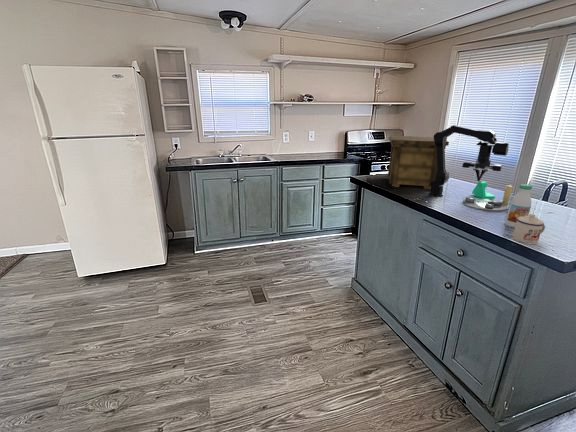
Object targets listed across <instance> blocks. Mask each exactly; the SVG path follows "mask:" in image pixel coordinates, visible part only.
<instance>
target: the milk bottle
mask: <svg viewBox="0 0 576 432" xmlns="http://www.w3.org/2000/svg"><path fill="white" fill-rule="evenodd" d="M518 189H519V190H518V192H517V193H516V194H515V195H514V196H513V198H512V199H511V201H510V204H509V207H508V208H509V209H508V212H507V215H506V219H505V225H506V226H507V227H510V228H513V229H515V226H516V223H517V218H518V217H521V216H529V214H530V211H531V207H532V197H531V191H532V189H533V185H531V184H527V183H526V184H525V183H522V184H519V188H518Z"/></svg>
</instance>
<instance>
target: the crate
mask: <svg viewBox="0 0 576 432" xmlns="http://www.w3.org/2000/svg"><path fill="white" fill-rule="evenodd" d="M433 137H434V136H407V135H405V136H404V135H389V137H388V139H389V141H390V146H391V148H390V156H389V162H388V163H389V165H388V171H387V177H389V182H388V183H389V184H390V185H391V186H394V188H399V187H400V185H405V186H406V185H408V186H420V187H421V186H422V188H423V190H431V183H432V182H433V181H435V177H436V173H437V147H436V145H435V143H434V138H433ZM449 144H450V141H448V140H447V141H446V144H445V149H446V147H448V146H449Z"/></svg>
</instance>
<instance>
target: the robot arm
mask: <svg viewBox="0 0 576 432" xmlns="http://www.w3.org/2000/svg"><path fill="white" fill-rule="evenodd" d="M453 134H459V135H463V136H467V137H473V138H475V139H478V140H479V142H478V143H476V146H479V150H478V155H477V158H476V160H475V163H473V161H465V162H462V165H461V167H462V168H465V169H469V168H473V169H472V170H473V171H475V174H476V178H477V179H476V180H477V182H481V179H482V178H483V177H484V175H485V174H486V172H489V171H490V170H492V171H494V172H501V171H502V169H503V166H502V164H492V165H491V160H490V159H491V155H492V154H493V156H503V157H504V156H505V157H507V156H508V153H509V142H499V141H498V139H497V138H496V137H497V134H496V133H495V131H493V130H480V129H479V130H477V129H474V128H469V127H464V126H460V125H457V124H456V125H455V124H454V125H451V126H450V127H448V128H445V129H444V130H442V131H438V132H436V133H434V134H433V136H432V137H433V138H434V143H435V145H436V147H437V173H436V177H435V181H433V182H432V183H431V189H429V191H430V192H428V193H427V194H428V195H429V196H432V197H436V198H437V197H443V196H444V195H443V191H444V185H445V184H447V182H449V179H450V171H447V169H446V148H445V144H446V141H448V137H450V136H451V135H453Z"/></svg>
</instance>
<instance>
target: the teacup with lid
mask: <svg viewBox="0 0 576 432" xmlns="http://www.w3.org/2000/svg"><path fill="white" fill-rule="evenodd" d="M545 230H546V226H545V222H544V220H542V219H540V218H538V217H537V216H536V214H534V213H529V215H528V216H521V217H518V218H517V223H516V226H515V228H514V231H513V234H512V238H514V239H513V240H515V239H516V240H518V241H517V242H519V241H521V242H520V243H522V242H525V243H524V244H526V243H536V244H537V243H538V242H539V239H540V236H541V234H543V233H544V232H545ZM516 240H515V241H516Z"/></svg>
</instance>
